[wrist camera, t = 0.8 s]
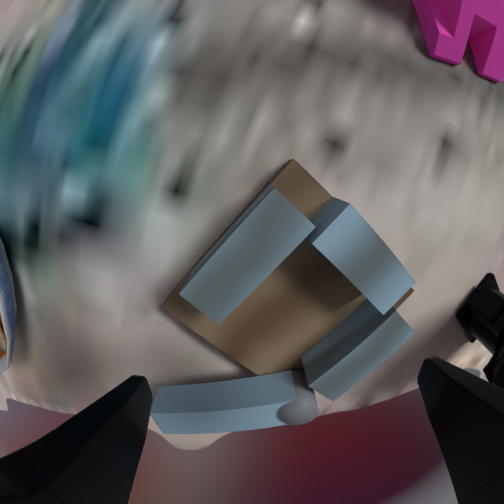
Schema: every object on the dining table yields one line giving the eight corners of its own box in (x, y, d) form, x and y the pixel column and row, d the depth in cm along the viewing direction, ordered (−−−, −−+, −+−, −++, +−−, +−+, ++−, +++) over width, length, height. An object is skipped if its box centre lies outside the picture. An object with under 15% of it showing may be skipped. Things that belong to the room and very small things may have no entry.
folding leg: (309, 366, 21) (316, 398, 17) (312, 389, 22) (319, 420, 18) (159, 386, 22) (148, 415, 18) (171, 407, 23) (163, 436, 19)
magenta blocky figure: (396, -32, 12) (440, -79, 2) (467, -2, 12) (515, -28, 2) (429, 57, 15) (503, 23, 6) (496, 82, 15) (562, 72, 5)
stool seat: (403, 281, 21) (436, 310, 16) (290, 381, 24) (296, 424, 19) (289, 160, 19) (303, 156, 13) (169, 295, 22) (147, 331, 16)
